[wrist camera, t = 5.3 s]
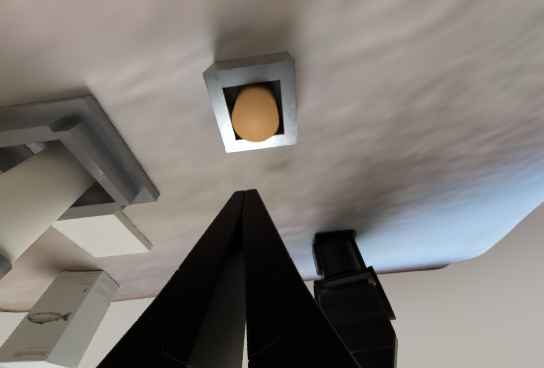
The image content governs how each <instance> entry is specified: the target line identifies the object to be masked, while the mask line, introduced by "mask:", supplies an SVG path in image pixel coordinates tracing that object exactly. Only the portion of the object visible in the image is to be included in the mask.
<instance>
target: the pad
mask: <svg viewBox="0 0 544 368" xmlns="http://www.w3.org/2000/svg"><path fill="white" fill-rule="evenodd" d="M52 226H53V227H54V228H56V229H57V230H59V231H60V232H61V233H63V234H64V235H65V236H67V237H68V238H69V239H71V240H72V241H74V242H75V243H76V244H78V245H79V246H80V247H82V248H83V249H85V250H86V251H87V252H89V253H90V254H91V255H93V256H94V257H104V256H114V255H123V254H132V253H141V252H150V250H151V248H152V245H151V244H150V243H149V242H148V241H147V239H146V238H145V237H144V236H143V235H142V234H141V233H140V232H139V231H138V230H137V229H136V228H135V227H134V225H133V224H132V223H131V222H130V221H129V220H128V219H127V218H126V217H125V216H124V215H123V214H122V213H121V211H120V210H118V211H109V212H101V213H92V214H84V215H75V216H67V217H59V218H58V219H57V220H56V221H55V222H54V223H53V224H52Z"/></svg>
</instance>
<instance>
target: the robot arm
mask: <svg viewBox="0 0 544 368" xmlns="http://www.w3.org/2000/svg"><path fill="white" fill-rule="evenodd" d="M355 236H356V231H355V230H348V231H338V232H329V233H320V234H316V235H315V241H314V244H313V245H312V254H313V259H314V263H315V267H316V272H317V275H318V276H320V275H321V278H322V279H321V280H315V281H314V286H313V287H314V297H315V299H314V298H313V296H312V294H311V293H310V291H309V290H308V288H307V286H306V285H305V283H304V281H303V279H302V278H301V276H300V274H299V272H298V270H297V268H296V266H295V264H294V262H293V260H292V258H291V257H290V255H289V253H288V251H287V249H286V247H285V245H284V243H283V241H282V239H281V237H280V235H279V233H278V231H277V229H276V227H275V225H274V223H273V221H272V219H271V217H270V215H269V213H268V211H267V209H266V207H265V205H264V203H263V201H262V199H261V197H260V195H259V193H258V191H257V189H249V190H246V191H245V190H242V191H236V192H234V193H233V195H232V196H231V198H230V199H229V200H228V202H227V203H226V204H225V206H224V207H223V208H222V210H221V211H220V212H219V214H218V215H217V216H216V218H215V219H214V220H213V222H212V223H211V225H210V226H209V227H208V229H207V230H206V231H205V233H204V234H203V235H202V237H201V238H200V239H199V241H198V242H197V243H196V245H195V246H194V247H193V249H192V250H191V252H190V253H189V254H188V256H187V257H186V258H185V260H184V261H183V262H182V264H181V265H180V266H179V270H176V272H175V273H174V274H173V276H172V277H171V278H170V280H169V281H168V282H167V284H166V285H165V286H164V288H163V289H162V290H161V291H160V293H159V294H158V295H157V297H156V298H155V299H154V300H153V302H152V303H151V304H150V305H149V306H148V308H147V309H146V310H145V311H144V312H143V314H142V315H141V316H140V317H139V318H138V320H137V321H136V322H135V323H134V324H133V325H132V326H131V328H130V329H129V330H128V331H127V332H126V334H125V335H124V336H123V337H122V338H121V339H120V340H119V342H118V343H117V344H116V345H115V346H114V347H113V349H112V350H111V351H110V352H109V353H108V354H107V355H106V357H105V358H104V359H103V360H102V361H101V362H100V364H99V365H98V366H97V367H96V368H242V360H243V349H244V348H243V347H244V336H245V324H246V329H247V354H248V360H249V362H248V368H396V365H397V349H398V340H397V337H396V334H395V331H394V329H393V326H392V324H391V322H390V320H396V317H395V315H394V313H393V310H392V308H391V305H390V303H389V301H388V299H387V297H386V294H385V292H384V290H383V288H382V286H381V284H380V281H379V280H378V277H377V275H376V273H375V271H374V269H373V267H372V266H369V267H368V268H367V267H366V265H365V263H364V260H363V258H362V256H361V253H360V251H359V249H358V246H357V244H356V242H355ZM374 284H375V285H374Z"/></svg>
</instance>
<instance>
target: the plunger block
mask: <svg viewBox="0 0 544 368" xmlns="http://www.w3.org/2000/svg"><path fill="white" fill-rule="evenodd" d="M203 77H204V80H205V83H206V86H207V90H208V93H209V96H210V99H211V103H212V106H213V109H214V112H215V116H216V119H217V122H218V125H219V129H220V132H221V135H222V138H223V142H224V145H225V148H226V151H227V153H228V152H235V151H243V150H251V149H259V148H267V147H275V146H283V145H291V144H297V117H296V89H295V61H294V59H293V58H292V56H291V55H290V54H289V53H288V52H284V53H277V54H270V55H264V56H257V57H250V58H243V59H236V60H229V61H222V62H216V63H213V64H212V65H211V66H210V67H209V68H208V69H206V70H205V71H204V72H203ZM273 80H278V91H279V102H280V114H281V115H280V116H279V125H278V128H277V130H276V132H275V134H274V135H273V136H272V137H271V138H269V139H268V140H266V141H263V142H257V143H256V142H249V141H246V140H244V139H243V138H241V137H240V136H239V135H238V134H237V133H236V131H235V130H234V128H233V125H232V113H233V109H234V106H235V99H234V94H233V90H232V86H237V85H245V84H252V83H259V82H266V81H273Z"/></svg>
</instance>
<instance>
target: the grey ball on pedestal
mask: <svg viewBox="0 0 544 368" xmlns="http://www.w3.org/2000/svg"><path fill="white" fill-rule="evenodd" d="M95 181H96V179H95V178H94V177H93V176H92V175H91V174H90V172H89V171H88V170H87V169H86V168H85V167H84V166H83V165H82V164H81V163H80V161H79V160H78V159H77V158H76V157H75V156H74V155H73V154H72V153H71V152H70V150H69V149H68V148H67V147H66V146H65V145H64V144H63V143H62V142H61V141H57V142H55V143H53V144H51V145H50V146H48V147H46V148H45V149H43V150H41V151H40V152H38V153H36V154H35V155H33V156H31V157H30V158H28V159H26V160H25V161H23V162H21V163H20V164H18V165H16V166H15V167H13V168H11V169H10V170H8V171H6V172H5V173H3V174H1V175H0V280H1V279H2V278H3V277H4V276H5V275H6V274H7V273H8V272H9V271H10V270H11V268H12V265H11V264H12V263H13V262H14V261H15V260H16V259H17V258H18V257H19V256H20V255H21V254H22V253H23V252H24V251H25V250H26V249H27V248H28V247H30V246H31V245H32V244H33V243H34V242H35V241H36V240H37V239H38V238H39V237H40V236H41V235H42V234H43V233H44V232H45V231H46V230H47V229H48V228H49V227H50V226H51V225H52V224H53V223H54V222H55V221H56V220H57V219H58V218H59V217H60V216H61V215H62V214H63V213H64V212H65V211H66V210H67V209H68V208H69V207H70V206H71V205H72V204H73V203H74V202H75V201H76V200H77V199H78V198H79V197H80V196H81V195H82V194H83V193H84V192H85V191H86V190H87V189H88V188H89V187H90V186H91V185H92V184H93V183H94V182H95Z"/></svg>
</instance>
